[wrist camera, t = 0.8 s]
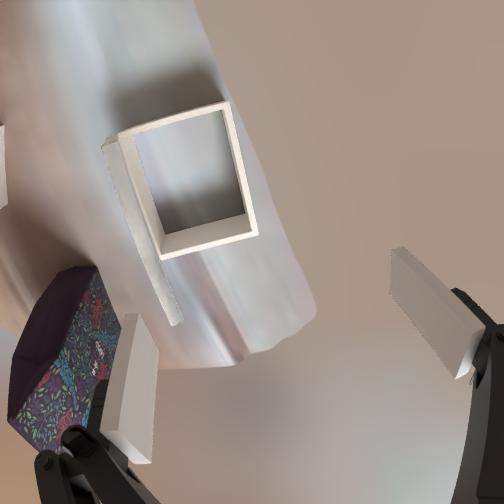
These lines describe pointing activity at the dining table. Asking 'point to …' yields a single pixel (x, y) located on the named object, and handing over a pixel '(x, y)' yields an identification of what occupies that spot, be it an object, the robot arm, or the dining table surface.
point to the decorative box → (62, 358)
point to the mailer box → (200, 234)
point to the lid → (139, 227)
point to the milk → (2, 171)
